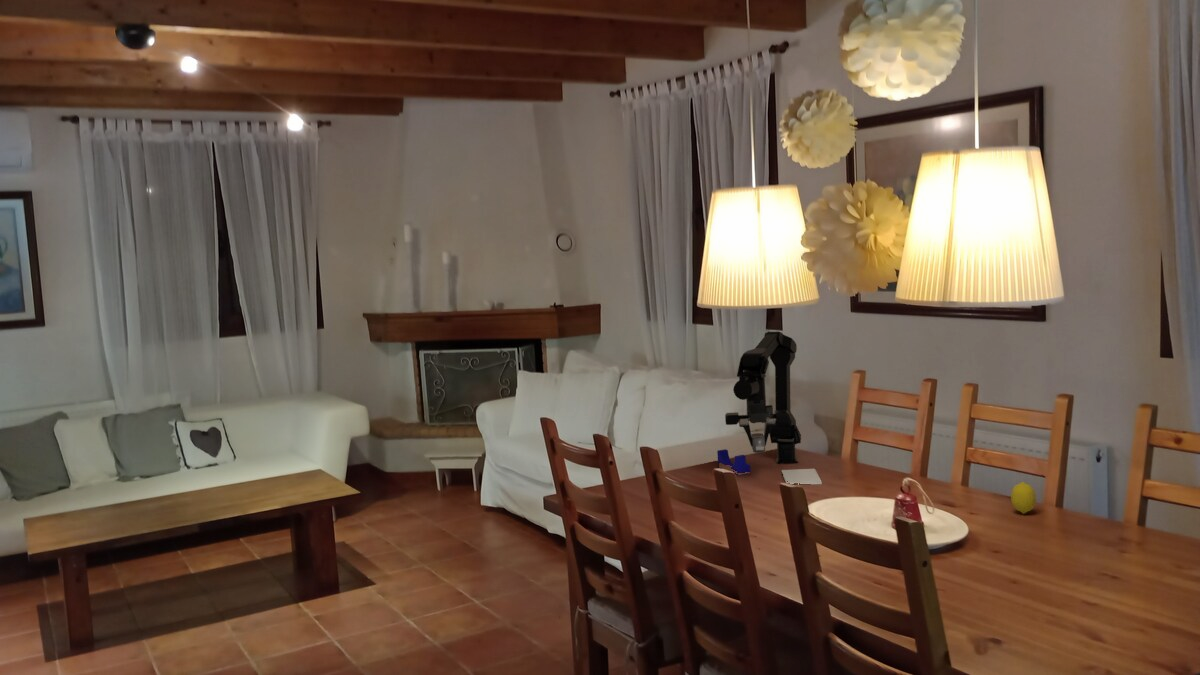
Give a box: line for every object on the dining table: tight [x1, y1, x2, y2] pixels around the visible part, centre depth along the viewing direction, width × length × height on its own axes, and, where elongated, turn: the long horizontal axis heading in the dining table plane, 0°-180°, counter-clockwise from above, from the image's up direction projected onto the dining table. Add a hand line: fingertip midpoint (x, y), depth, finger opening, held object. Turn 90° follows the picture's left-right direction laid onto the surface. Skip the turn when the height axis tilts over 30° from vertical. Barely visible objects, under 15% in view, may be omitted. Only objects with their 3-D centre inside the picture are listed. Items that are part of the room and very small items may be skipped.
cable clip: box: [716, 448, 752, 476], centre depth 297 cm, size 12×4×6 cm, turn 23°
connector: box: [751, 432, 766, 454], centre depth 282 cm, size 4×12×4 cm, turn 174°
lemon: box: [1010, 481, 1037, 515], centre depth 232 cm, size 6×6×8 cm
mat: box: [781, 468, 823, 486], centre depth 282 cm, size 16×10×1 cm, turn 174°
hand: (758, 445), depth 283 cm, fingers closed on connector, 3 cm apart
